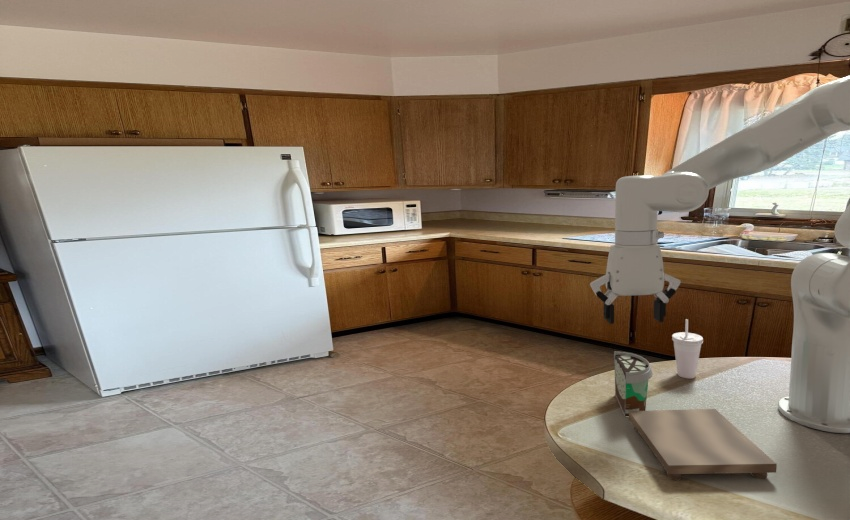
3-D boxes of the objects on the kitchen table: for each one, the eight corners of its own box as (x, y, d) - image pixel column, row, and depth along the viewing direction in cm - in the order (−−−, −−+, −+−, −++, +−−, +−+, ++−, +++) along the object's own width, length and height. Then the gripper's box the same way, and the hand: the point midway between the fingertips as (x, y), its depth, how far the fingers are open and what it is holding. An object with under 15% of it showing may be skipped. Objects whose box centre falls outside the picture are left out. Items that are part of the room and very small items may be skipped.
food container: (660, 421, 88) (660, 374, 86) (626, 420, 89) (626, 373, 87) (643, 392, 100) (643, 350, 98) (613, 392, 101) (613, 350, 99)
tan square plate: (714, 423, 86) (715, 408, 85) (775, 481, 69) (776, 463, 69) (628, 425, 87) (628, 411, 87) (668, 482, 71) (668, 465, 70)
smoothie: (666, 375, 107) (667, 320, 104) (676, 367, 111) (677, 313, 109) (696, 383, 102) (698, 325, 100) (706, 374, 106) (707, 317, 104)
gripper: (672, 234, 91) (669, 314, 94) (585, 238, 93) (585, 317, 96) (690, 238, 84) (687, 325, 87) (596, 243, 86) (596, 328, 88)
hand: (633, 321), depth 91 cm, fingers open, 9 cm apart
